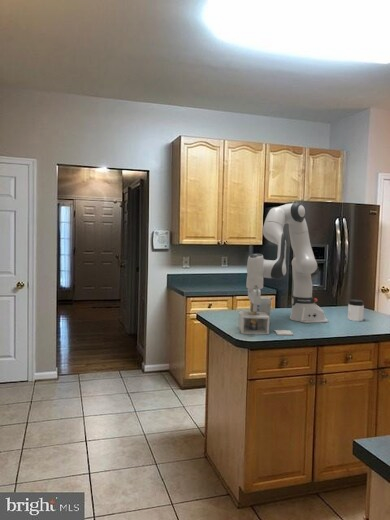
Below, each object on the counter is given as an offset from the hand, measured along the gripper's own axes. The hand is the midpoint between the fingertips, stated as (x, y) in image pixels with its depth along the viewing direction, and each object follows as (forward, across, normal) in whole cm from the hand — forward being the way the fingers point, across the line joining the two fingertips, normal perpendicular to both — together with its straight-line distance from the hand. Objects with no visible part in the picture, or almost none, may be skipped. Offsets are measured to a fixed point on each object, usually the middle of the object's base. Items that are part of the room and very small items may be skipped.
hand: (253, 310), depth 216 cm
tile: (+11, -5, -15) cm, 19 cm away
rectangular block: (+6, 0, 0) cm, 6 cm away
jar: (+11, +34, -68) cm, 77 cm away
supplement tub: (+11, +20, -8) cm, 24 cm away
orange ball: (+10, 0, 0) cm, 10 cm away
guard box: (+11, 0, 0) cm, 11 cm away
